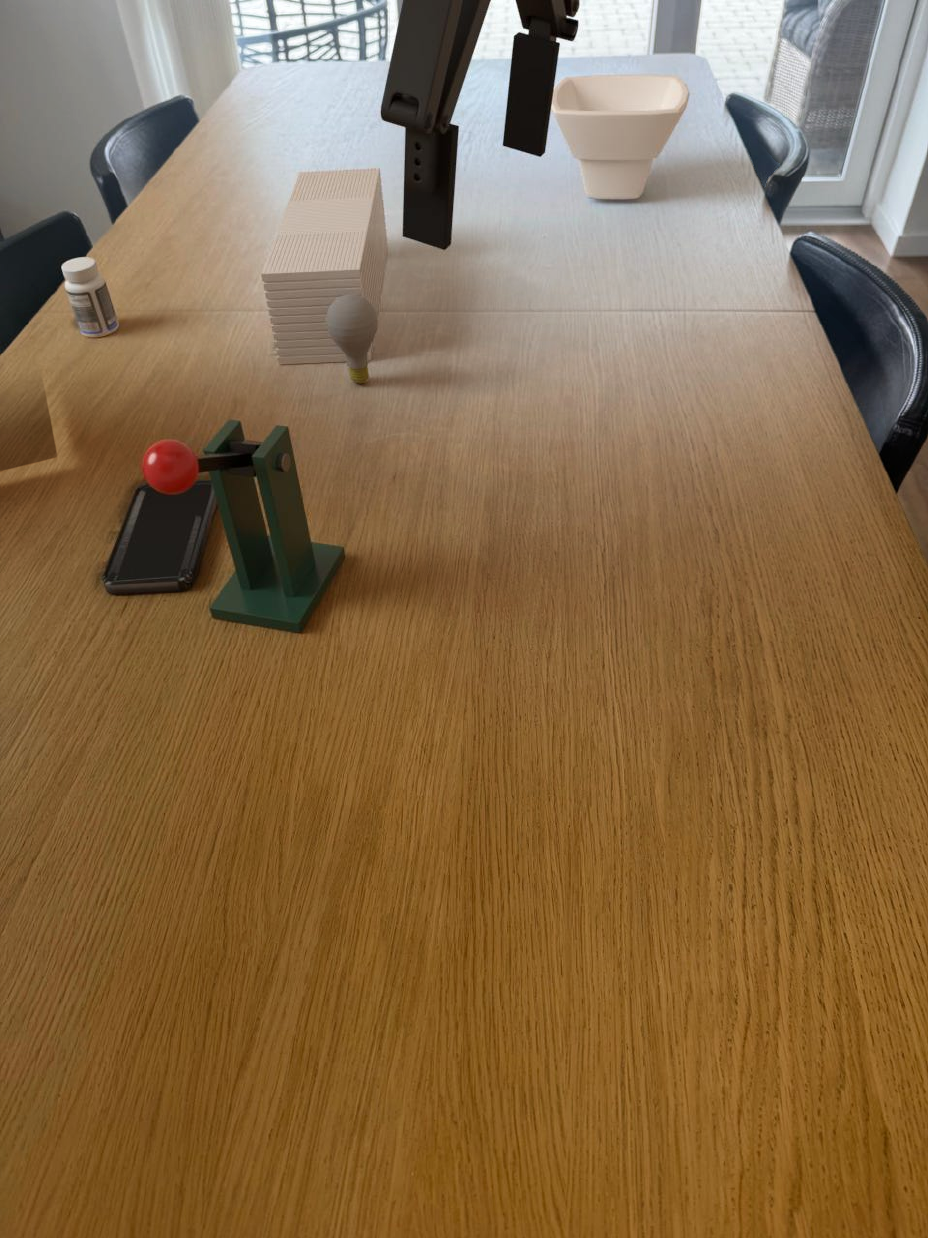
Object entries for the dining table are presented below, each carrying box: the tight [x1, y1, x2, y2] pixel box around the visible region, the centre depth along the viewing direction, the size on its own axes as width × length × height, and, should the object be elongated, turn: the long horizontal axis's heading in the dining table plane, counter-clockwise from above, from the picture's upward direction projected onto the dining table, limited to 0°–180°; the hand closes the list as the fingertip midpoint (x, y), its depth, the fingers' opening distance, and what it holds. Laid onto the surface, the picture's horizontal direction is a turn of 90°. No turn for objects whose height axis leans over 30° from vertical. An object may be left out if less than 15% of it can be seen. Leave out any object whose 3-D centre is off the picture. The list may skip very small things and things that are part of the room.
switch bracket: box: [202, 418, 347, 634], centre depth 77 cm, size 10×8×15 cm
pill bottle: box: [60, 256, 120, 339], centre depth 117 cm, size 5×5×8 cm
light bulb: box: [326, 294, 379, 385], centre depth 104 cm, size 6×5×10 cm
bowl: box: [551, 73, 691, 200], centre depth 140 cm, size 19×19×14 cm
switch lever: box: [141, 438, 263, 495], centre depth 68 cm, size 14×4×4 cm, turn 164°
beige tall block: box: [261, 167, 389, 365], centre depth 119 cm, size 32×11×11 cm, turn 0°
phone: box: [101, 479, 218, 596], centre depth 88 cm, size 8×1×15 cm
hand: (478, 192), depth 59 cm, fingers open, 13 cm apart
